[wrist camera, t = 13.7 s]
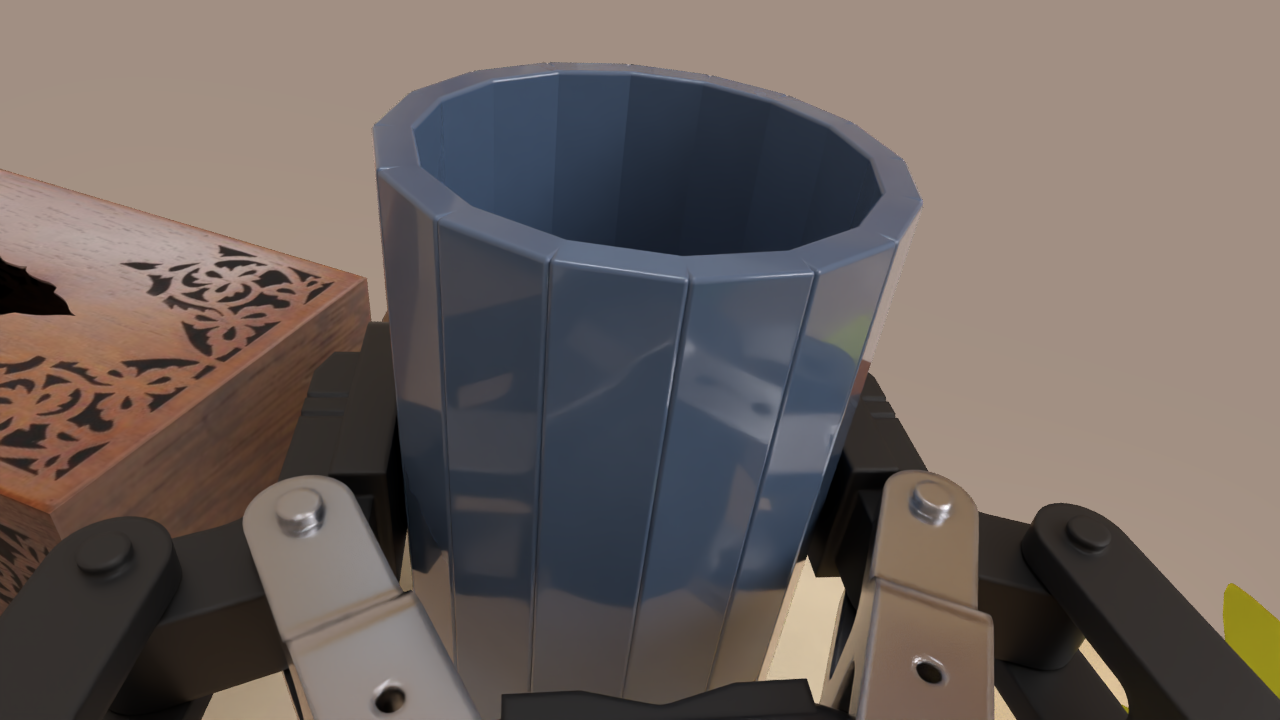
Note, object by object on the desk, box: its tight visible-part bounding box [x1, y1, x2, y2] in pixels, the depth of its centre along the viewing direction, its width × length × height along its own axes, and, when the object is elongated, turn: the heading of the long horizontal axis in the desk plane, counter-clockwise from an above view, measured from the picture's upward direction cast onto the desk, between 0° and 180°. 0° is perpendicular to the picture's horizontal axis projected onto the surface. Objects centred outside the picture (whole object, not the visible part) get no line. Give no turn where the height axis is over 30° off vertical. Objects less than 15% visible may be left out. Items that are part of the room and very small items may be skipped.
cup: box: [372, 62, 923, 720], centre depth 13 cm, size 6×6×12 cm
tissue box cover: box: [0, 169, 371, 616], centre depth 34 cm, size 26×14×10 cm, turn 70°
